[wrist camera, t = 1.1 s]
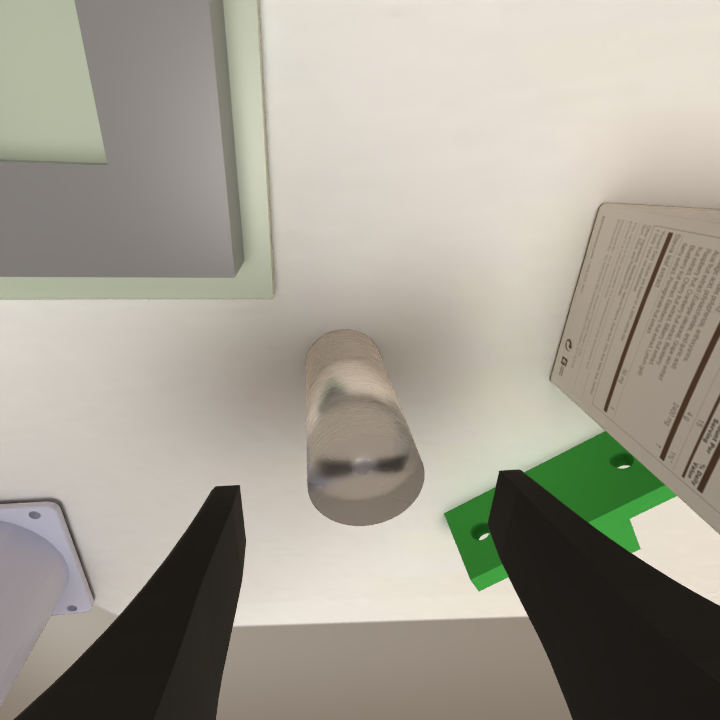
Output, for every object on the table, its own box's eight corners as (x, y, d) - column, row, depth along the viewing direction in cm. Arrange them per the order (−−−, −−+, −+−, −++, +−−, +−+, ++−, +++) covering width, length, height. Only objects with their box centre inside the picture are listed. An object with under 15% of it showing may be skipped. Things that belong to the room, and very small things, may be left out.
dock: (-100, 292, 16) (-198, 324, 13) (-387, -351, 10) (-726, -601, 6) (274, 291, 18) (268, 320, 15) (245, -250, 11) (223, -408, 8)
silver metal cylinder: (306, 398, 20) (308, 529, 13) (304, 329, 19) (306, 436, 11) (378, 395, 21) (418, 522, 13) (382, 329, 19) (430, 431, 12)
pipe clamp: (466, 545, 26) (496, 617, 22) (442, 510, 25) (469, 580, 21) (634, 464, 25) (698, 525, 21) (619, 421, 23) (686, 477, 19)
